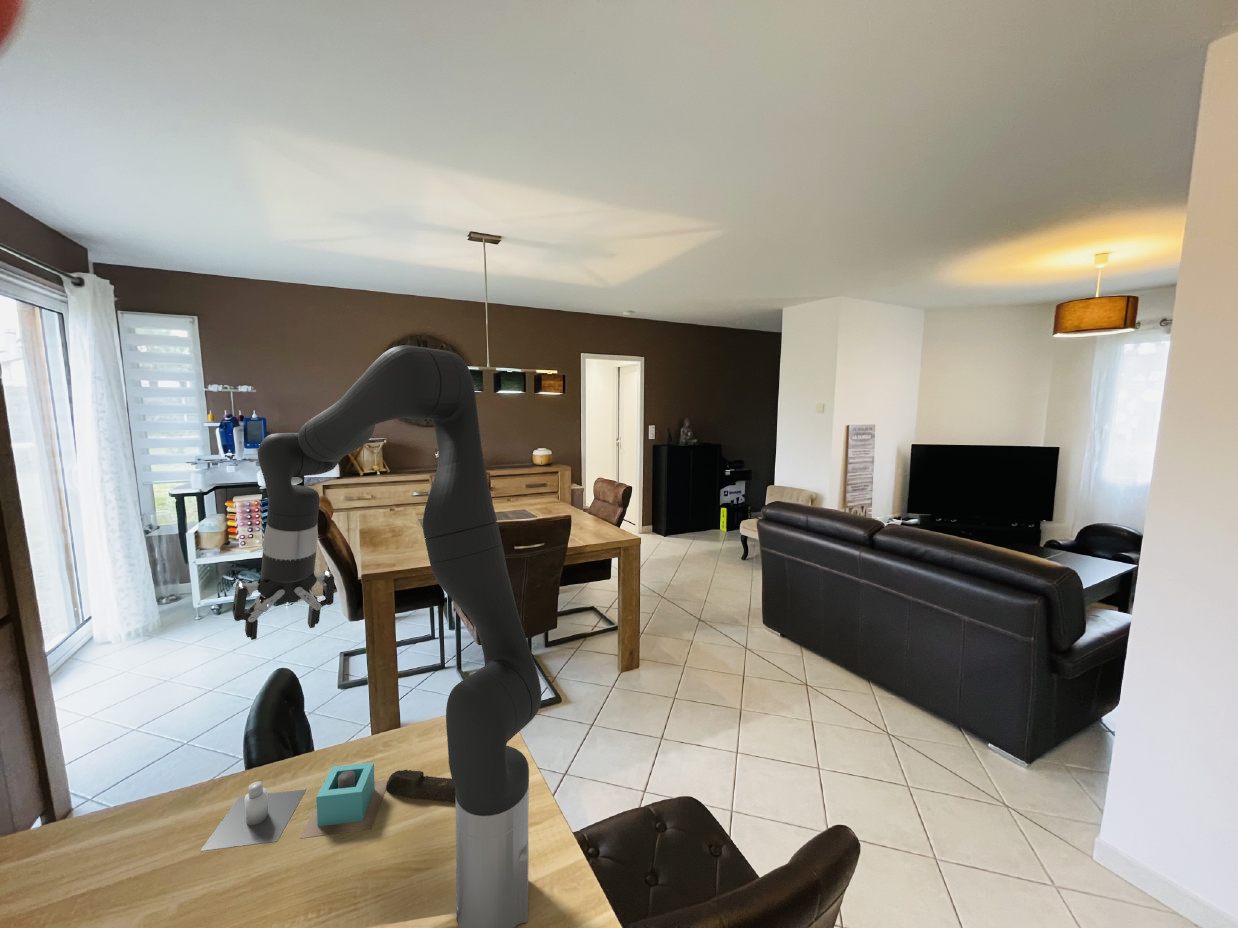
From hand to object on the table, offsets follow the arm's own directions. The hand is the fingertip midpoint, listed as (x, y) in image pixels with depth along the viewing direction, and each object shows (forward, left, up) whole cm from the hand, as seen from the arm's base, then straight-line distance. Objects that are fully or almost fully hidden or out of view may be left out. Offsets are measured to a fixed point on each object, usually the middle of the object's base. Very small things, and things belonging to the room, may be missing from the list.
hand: (283, 631), depth 85 cm
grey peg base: (-1, +12, -26) cm, 29 cm away
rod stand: (-14, +12, -26) cm, 32 cm away
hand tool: (-28, +12, -26) cm, 40 cm away
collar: (-14, +12, -25) cm, 31 cm away
